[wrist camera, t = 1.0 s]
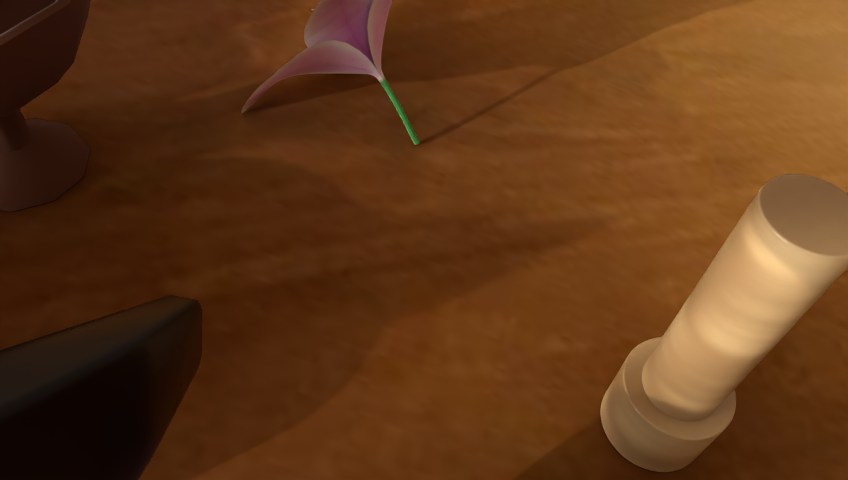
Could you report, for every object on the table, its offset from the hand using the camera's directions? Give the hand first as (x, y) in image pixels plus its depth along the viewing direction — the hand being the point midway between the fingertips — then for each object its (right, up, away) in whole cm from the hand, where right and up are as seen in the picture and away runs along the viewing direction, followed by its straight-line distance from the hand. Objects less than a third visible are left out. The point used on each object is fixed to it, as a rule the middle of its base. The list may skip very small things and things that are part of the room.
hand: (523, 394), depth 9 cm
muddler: (+7, -5, +16) cm, 19 cm away
